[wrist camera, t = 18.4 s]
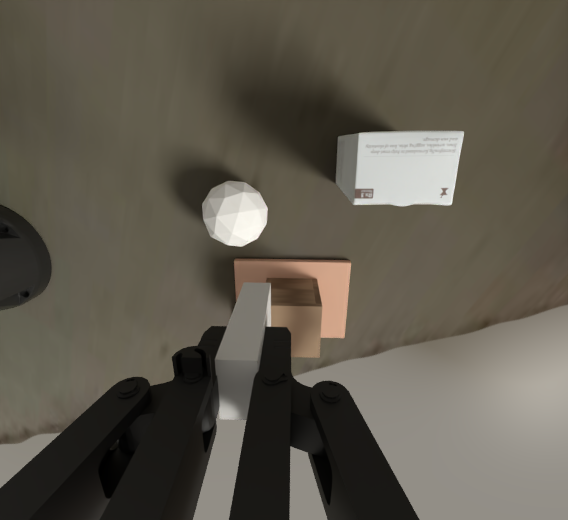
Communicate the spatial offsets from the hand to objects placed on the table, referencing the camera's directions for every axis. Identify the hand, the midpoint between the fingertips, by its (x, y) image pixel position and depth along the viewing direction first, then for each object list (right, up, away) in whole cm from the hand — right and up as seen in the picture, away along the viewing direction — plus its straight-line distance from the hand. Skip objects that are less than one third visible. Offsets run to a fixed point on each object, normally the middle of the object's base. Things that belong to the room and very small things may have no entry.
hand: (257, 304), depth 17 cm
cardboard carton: (+3, -3, +26) cm, 26 cm away
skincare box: (+12, +15, +21) cm, 28 cm away
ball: (-4, +9, +23) cm, 25 cm away
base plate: (+3, -3, +27) cm, 27 cm away
